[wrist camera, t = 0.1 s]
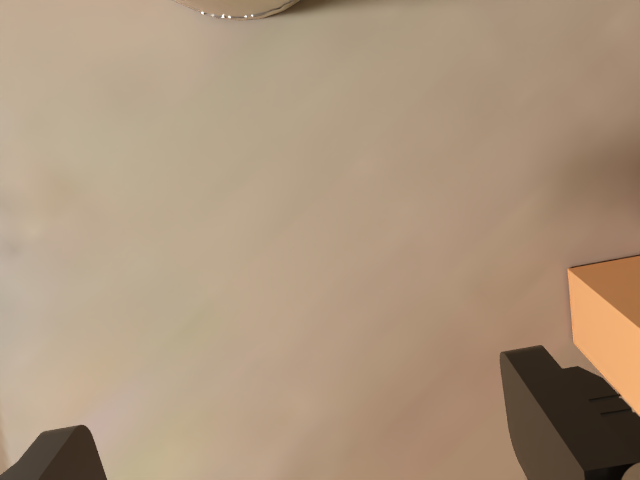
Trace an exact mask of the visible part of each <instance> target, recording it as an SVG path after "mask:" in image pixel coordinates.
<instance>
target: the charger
mask: <svg viewBox="0 0 640 480" xmlns="http://www.w3.org/2000/svg"><path fill="white" fill-rule="evenodd" d="M568 280H569V293H570V305H571V318H572V330H573V343H574V344H575V345H576V346H577V347H578V348H579V349H580V350H581V351H582V353H583V354H584V355H585V356H586V357H587V358H588V359H589V360H590V361H591V362H592V364H593V365H594V366H595V367H596V368H597V369H598V370H599V371H600V372H601V373H602V375H603V376H604V377H605V378H606V379H607V380H608V381H609V382H610V383H611V384H612V386H613V387H614V388H615V389H616V390H617V391H618V392H619V393H620V394H621V395H622V397H623V398H624V399H625V400H626V401H627V402H628V403H629V404H630V405H631V406H632V408H633V409H634V410H635V411H636V412H637V413H638V414H639V415H640V256H636V257H630V258H625V259H619V260H614V261H608V262H603V263H597V264H592V265H586V266H580V267H575V268H569V269H568Z"/></svg>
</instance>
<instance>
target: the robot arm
mask: <svg viewBox="0 0 640 480" xmlns="http://www.w3.org/2000/svg"><path fill="white" fill-rule="evenodd" d="M173 1H175V2H177V3H180V4H182V5H185V6H187V7H189V8H192V9H194V10H197V11H199V12H200V13H201V14H204V15H209V16H213V17H216V18H223V19H231V20H238V21H239V20H250V19H260V18H264V17H267V16H270V15H273V14H276V13H279V12H282V11H284V10H286V9H287V8H289V7H291V6H292V5H294V4H296V3H297V2H299V1H301V0H173ZM500 368H501V376H502V383H503V391H504V398H505V406H506V413H507V421H508V428H509V433H510V438H511V441H512V445H513V448H514V451H515V454H516V457H517V459H518V461H519V463H520V465H521V467H522V469H523V471H524V473H525V475H526V477H527V479H528V480H640V417H639V416H638V414H637V413H636V412H632V408H631V407H630V406H629V405H628V404H627V403H626V402H625V401H624V400H623V399H622V398H619V395H618V394H617V393H616V391H615V390H614V389H613V388H612V387H611V386H610V385H609V384H608V383H607V382H606V381H605V380H604V379H603V378H602V377H599V376H597V375H595V374H593V373H591V372H589V371H587V370H585V369H583V368H581V367H578V366H576V367H570V368H565V369H562V368H561V367H560V366H559V365H558V363H557V362H556V361H555V360H554V359H553V357H552V356H551V355H550V354H549V353H548V351H547V350H546V349H545V348H544V347H543V346H542V345H538V346H533V347H527V348H521V349H516V350H510V351H504V352H501V353H500ZM0 480H107V478H106V475H105V472H104V469H103V466H102V463H101V460H100V457H99V454H98V451H97V448H96V445H95V442H94V439H93V436H92V434H91V432H90V430H89V429H88V428H87V427H86V426H84V425H78V426H72V427H66V428H61V429H55V430H49V431H44V432H42V433H41V434H40V435H39V436H38V437H37V439H36V440H35V441H34V442H33V443H32V445H31V446H30V447H29V448H28V450H27V451H26V452H25V453H24V454H23V456H22V457H21V458H20V459H19V461H18V462H17V463H15V464H14V465H13V466H12V467H10V468H9V469H8V470H6V471H5V472H4V473H3V474H1V475H0Z"/></svg>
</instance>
